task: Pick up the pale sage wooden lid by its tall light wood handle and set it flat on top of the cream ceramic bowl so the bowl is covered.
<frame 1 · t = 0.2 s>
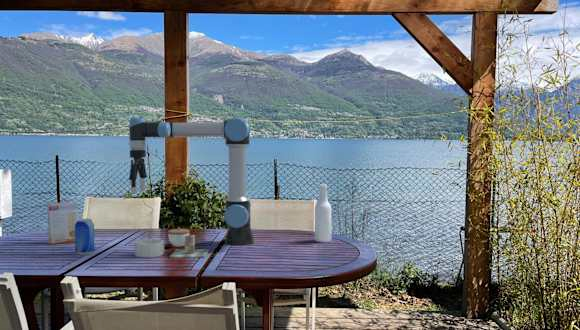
hand: (138, 192, 266), 28 cm above the table, tool pointing down, fingers open, 13 cm apart
cracker box: (63, 242, 282), on the table
lid: (190, 255, 253), on the table
bowl: (149, 254, 253), on the table
alcohol: (323, 241, 285), on the table
lidded jar: (179, 246, 273), on the table
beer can: (84, 253, 255), on the table
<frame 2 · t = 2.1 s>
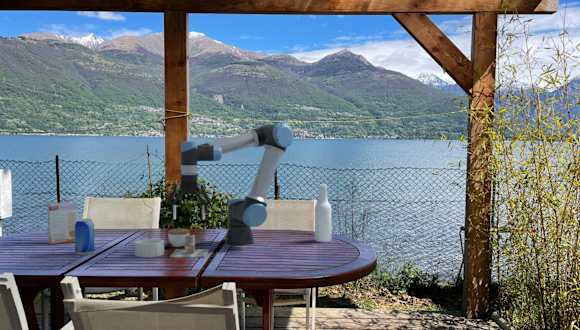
hand: (189, 219, 252), 16 cm above the table, tool pointing down, fingers open, 13 cm apart
nothing on the table moved.
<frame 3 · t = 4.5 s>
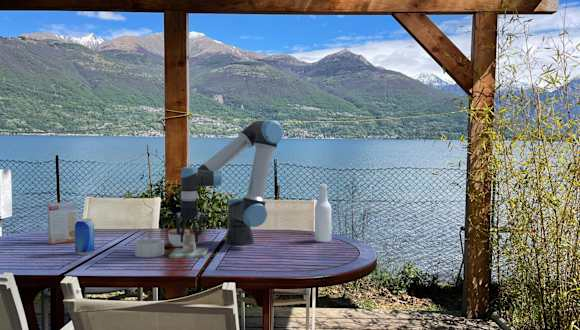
hand: (189, 249, 253), 2 cm above the table, tool pointing down, fingers closed on lid, 4 cm apart
lid: (189, 254, 253), on the table, touching gripper
everything else where it was.
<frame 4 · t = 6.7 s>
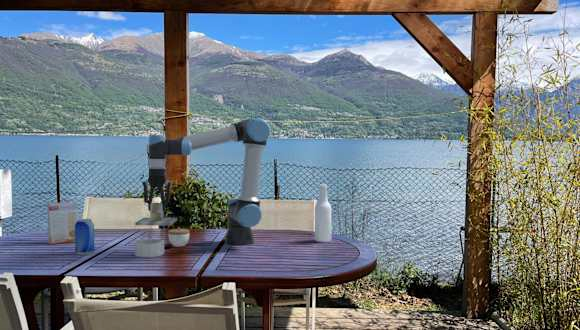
hand: (156, 217, 252), 17 cm above the table, tool pointing down, fingers closed on lid, 4 cm apart
lid: (156, 222, 252), point 15 cm above the table, touching gripper
everything else where it was.
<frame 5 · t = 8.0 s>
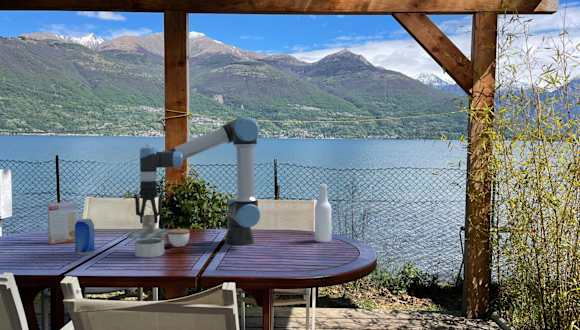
hand: (148, 230, 253), 11 cm above the table, tool pointing down, fingers closed on lid, 4 cm apart
lid: (148, 235, 253), point 9 cm above the table, touching gripper
everything else where it was.
when the fingers open (10 cm above the table, at t = 8.9 s): lid drops 1 cm, resting on bowl.
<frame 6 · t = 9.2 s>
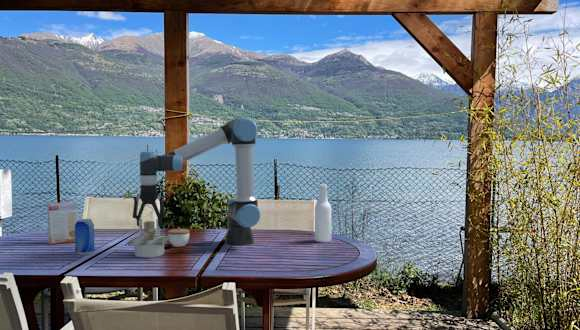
hand: (149, 232, 253), 10 cm above the table, tool pointing down, fingers open, 7 cm apart
lid: (149, 241, 253), point 6 cm above the table, touching bowl
everything else where it was.
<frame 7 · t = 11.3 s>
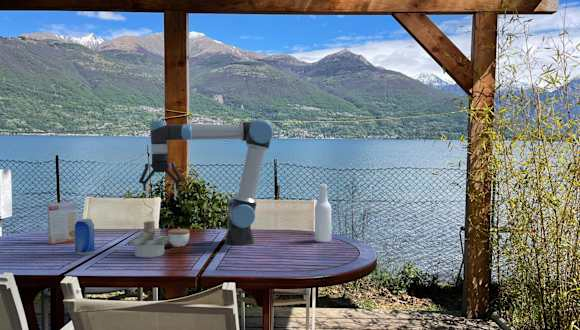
hand: (161, 197, 260), 26 cm above the table, tool pointing down, fingers open, 13 cm apart
nothing on the table moved.
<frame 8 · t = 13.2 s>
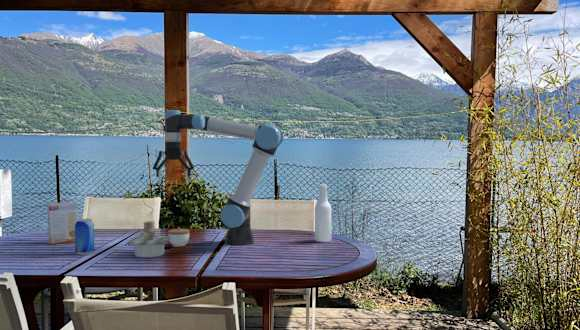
hand: (173, 183, 270), 32 cm above the table, tool pointing down, fingers open, 13 cm apart
nothing on the table moved.
at the end: lid 0.0 cm off-centre on the bowl, point 6.0 cm above the bowl's base; lid tilted 0°; the gripper is holding nothing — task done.
